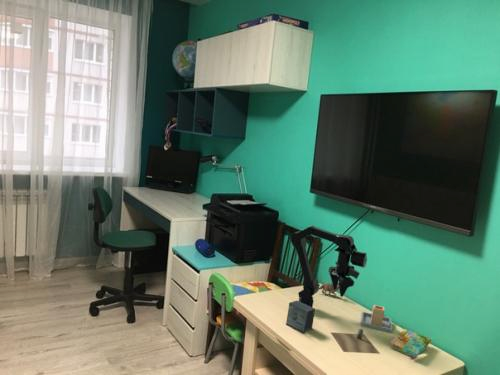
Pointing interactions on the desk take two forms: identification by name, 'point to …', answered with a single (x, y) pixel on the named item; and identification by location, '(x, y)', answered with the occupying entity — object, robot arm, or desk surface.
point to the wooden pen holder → (377, 315)
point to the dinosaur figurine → (329, 288)
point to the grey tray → (367, 323)
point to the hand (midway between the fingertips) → (338, 292)
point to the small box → (300, 316)
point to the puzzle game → (409, 343)
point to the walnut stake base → (354, 342)
